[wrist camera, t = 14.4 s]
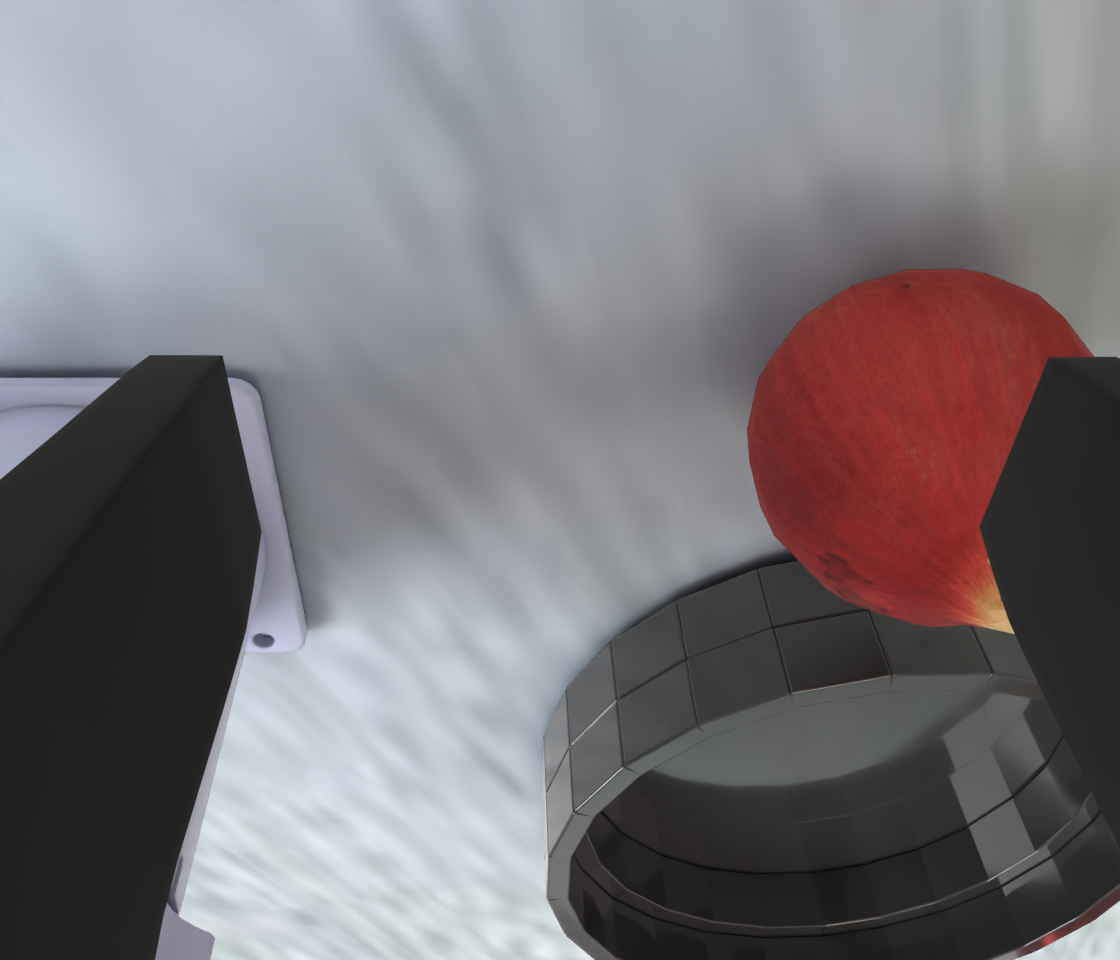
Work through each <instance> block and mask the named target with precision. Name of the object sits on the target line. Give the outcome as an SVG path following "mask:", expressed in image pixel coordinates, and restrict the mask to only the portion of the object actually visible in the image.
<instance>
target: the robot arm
mask: <svg viewBox="0 0 1120 960" xmlns="http://www.w3.org/2000/svg"><path fill="white" fill-rule="evenodd" d="M979 527H980V531H981V534H982V537H983V541H984V544H985V548H986V551H987V555H988V558H989V561H990V565H991V568H992V572H993V575H994V579H995V582H996V584H997V587H998V590H999V593H1000V596H1001V599H1002V602H1003V605H1004V608H1005V611H1006V614H1007V617H1008V620H1009V623H1010V625H1011V627H1012V629H1013V631H1014V633H1015V636H1016V638H1017V640H1018V642H1019V644H1020V647H1021V649H1022V651H1023V653H1024V655H1025V657H1026V659H1027V661H1028V663H1029V665H1030V667H1031V669H1032V672H1033V674H1034V676H1035V678H1036V680H1037V682H1038V684H1039V686H1040V688H1041V690H1042V692H1043V694H1044V697H1045V699H1046V701H1047V703H1048V705H1049V707H1050V709H1051V711H1052V713H1053V715H1054V717H1055V719H1056V721H1057V723H1058V725H1059V727H1060V729H1061V731H1062V733H1063V735H1064V737H1065V739H1066V741H1067V743H1068V745H1069V747H1070V749H1071V751H1072V753H1073V755H1074V757H1075V759H1076V761H1077V763H1078V765H1079V767H1080V769H1081V771H1082V774H1083V776H1084V778H1085V780H1086V782H1087V784H1088V786H1089V788H1090V790H1091V792H1092V794H1093V796H1094V798H1095V800H1096V802H1097V804H1098V806H1099V808H1100V810H1101V812H1102V814H1103V816H1104V818H1105V820H1106V822H1107V824H1108V826H1109V828H1110V830H1111V832H1112V834H1113V836H1114V838H1115V841H1116V843H1117V845H1118V847H1119V850H1120V359H1119V358H1117V357H1049V358H1048V360H1047V363H1046V365H1045V368H1044V370H1043V373H1042V375H1041V377H1040V380H1039V382H1038V385H1037V387H1036V390H1035V392H1034V395H1033V397H1032V399H1031V402H1030V404H1029V407H1028V409H1027V412H1026V414H1025V416H1024V419H1023V421H1022V424H1021V426H1020V429H1019V431H1018V434H1017V436H1016V438H1015V441H1014V443H1013V446H1012V448H1011V451H1010V453H1009V456H1008V458H1007V460H1006V463H1005V465H1004V468H1003V470H1002V473H1001V475H1000V478H999V480H998V482H997V485H996V487H995V490H994V492H993V495H992V497H991V500H990V502H989V504H988V507H987V509H986V512H985V514H984V517H983V519H982V521H981V524H980V526H979ZM261 633H263V634H268V635H263V634H261ZM306 636H307V625H306V620H305V615H304V610H303V605H302V600H301V595H300V591H299V586H298V581H297V576H296V571H295V566H294V561H293V556H292V551H291V546H290V541H289V536H288V531H287V526H286V521H285V516H284V511H283V506H282V501H281V496H280V491H279V486H278V481H277V477H276V472H275V467H274V462H273V457H272V452H271V447H270V442H269V437H268V432H267V427H266V422H265V417H264V412H263V407H262V402H261V398H260V395H259V393H258V391H257V390H256V389H255V388H254V387H253V386H252V385H251V384H250V383H248V382H246V381H244V380H242V379H237V378H227V374H226V369H225V365H224V360H223V356H203V355H150V356H148V357H147V358H146V359H144V360H143V361H142V362H140V363H139V364H138V365H136V366H135V367H134V368H132V369H131V370H130V371H129V372H127V373H126V374H125V375H124V376H122V377H121V378H0V960H210V958H211V954H212V949H213V945H214V940H215V938H214V936H213V935H212V934H211V933H209V932H207V931H204V930H202V929H200V928H197V927H195V926H193V925H192V924H190V923H188V922H187V921H185V920H183V919H182V918H181V917H179V914H180V910H181V906H182V902H183V898H184V894H185V890H186V886H187V882H188V878H189V874H190V870H191V866H192V862H193V858H194V854H195V850H196V846H197V842H198V838H199V834H200V830H201V826H202V822H203V818H204V814H205V810H206V806H207V802H208V798H209V794H210V790H211V786H212V782H213V778H214V774H215V770H216V766H217V762H218V758H219V754H220V750H221V746H222V742H223V738H224V734H225V730H226V726H227V722H228V718H229V714H230V710H231V706H232V702H233V698H234V694H235V690H236V686H237V682H238V678H239V674H240V670H241V666H242V662H243V658H244V654H245V653H276V652H293V651H296V650H298V649H300V648H302V647H303V645H304V644H305V641H306Z"/></svg>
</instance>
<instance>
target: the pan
mask: <svg viewBox="0 0 1120 960" xmlns="http://www.w3.org/2000/svg"><path fill="white" fill-rule="evenodd" d="M542 784H543V814H544V844H545V874H546V897H547V900H548V902H549V904H550V906H551V908H552V910H553V912H554V914H555V916H556V918H557V920H558V922H559V924H560V926H561V928H562V929H563V931H564V933H565V934H566V936H567V937H568V938H569V939H570V940H572V941H573V942H574V943H575V944H576V945H578V946H579V947H580V948H581V949H582V950H584V951H585V952H586V953H587V954H588V955H590V956H591V957H592V958H593V959H594V960H1014V959H1016V958H1019V957H1022V956H1024V955H1027V954H1030V953H1032V952H1035V951H1037V950H1039V949H1041V948H1043V947H1045V946H1047V945H1049V944H1051V943H1053V942H1054V941H1056V940H1058V939H1060V938H1062V937H1064V936H1066V935H1068V934H1070V933H1071V932H1073V931H1075V930H1077V929H1079V928H1081V927H1083V926H1085V925H1087V924H1088V923H1090V922H1092V921H1093V920H1095V919H1097V918H1098V917H1099V916H1101V915H1102V914H1103V913H1104V912H1106V911H1107V910H1108V909H1110V908H1111V907H1112V906H1114V905H1115V904H1116V903H1117V902H1119V901H1120V850H1119V847H1118V845H1117V843H1116V841H1115V838H1114V836H1113V834H1112V832H1111V830H1110V828H1109V826H1108V824H1107V822H1106V820H1105V818H1104V816H1103V814H1102V812H1101V810H1100V808H1099V806H1098V804H1097V802H1096V800H1095V798H1094V796H1093V794H1092V792H1091V790H1090V788H1089V786H1088V784H1087V782H1086V780H1085V778H1084V776H1083V774H1082V771H1081V769H1080V767H1079V765H1078V763H1077V761H1076V759H1075V757H1074V755H1073V753H1072V751H1071V749H1070V747H1069V745H1068V743H1067V741H1066V739H1065V737H1064V735H1063V733H1062V731H1061V729H1060V727H1059V725H1058V723H1057V721H1056V719H1055V717H1054V715H1053V713H1052V711H1051V709H1050V707H1049V705H1048V703H1047V701H1046V699H1045V697H1044V694H1043V692H1042V690H1041V688H1040V686H1039V684H1038V682H1037V680H1036V678H1035V676H1034V674H1033V672H1032V669H1031V667H1030V665H1029V663H1028V661H1027V659H1026V657H1025V655H1024V653H1023V651H1022V649H1021V647H1020V644H1019V642H1018V640H1017V638H1016V636H1015V634H1012V633H1008V632H1003V631H999V630H994V629H990V628H985V627H975V626H970V625H958V626H949V627H929V626H923V625H916V624H911V623H908V622H905V621H902V620H899V619H896V618H893V617H890V616H887V615H883V614H880V613H877V612H874V611H871V610H868V609H865V608H862V607H860V606H857V605H854V604H852V603H849V602H846V601H845V600H843V599H842V598H840V597H838V596H837V595H835V594H834V593H832V592H830V591H829V590H827V589H826V588H825V587H824V586H823V585H822V584H821V583H820V582H819V581H818V580H817V579H816V578H815V577H814V576H813V575H812V574H811V573H810V572H809V571H808V570H807V569H806V568H805V567H804V565H803V564H802V563H801V562H800V561H799V560H798V561H792V562H787V563H782V564H777V565H772V566H767V567H761V568H758V570H752V571H750V572H747V573H745V574H742V575H739V576H737V577H734V578H732V579H729V580H726V581H724V582H721V583H719V584H716V585H714V586H711V587H708V588H706V589H703V590H701V591H698V592H695V593H693V594H690V595H688V596H685V597H682V598H680V599H678V600H677V601H674V602H672V603H670V604H669V605H667V606H666V607H664V608H663V609H661V610H659V611H658V612H656V613H655V614H653V615H652V616H650V617H648V618H647V619H645V620H644V621H642V622H641V623H639V624H637V625H636V626H634V627H633V628H631V629H630V630H628V631H626V632H625V633H623V634H622V635H620V636H618V637H617V638H615V639H614V640H612V642H610V643H609V644H608V645H607V646H606V647H605V648H604V649H603V650H602V651H601V652H600V653H599V654H598V655H597V656H596V657H595V658H594V659H593V660H592V661H591V663H590V664H589V665H588V666H587V667H586V668H585V669H584V670H583V671H582V672H581V673H580V674H579V675H578V676H577V677H576V678H575V679H574V680H573V681H572V682H571V683H570V684H569V686H568V687H567V689H566V690H565V692H564V694H563V696H562V698H561V700H560V702H559V705H558V707H557V709H556V711H555V713H554V715H553V717H552V719H551V721H550V723H549V726H548V728H547V730H546V732H545V734H544V738H543V772H542Z"/></svg>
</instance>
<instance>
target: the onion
mask: <svg viewBox="0 0 1120 960" xmlns="http://www.w3.org/2000/svg"><path fill="white" fill-rule="evenodd" d="M1049 357H1094V356H1093V355H1092V353H1091V352H1090V351H1089V349H1088V348H1087V347H1086V345H1085V344H1084V343H1083V342H1082V340H1081V339H1080V338H1079V336H1078V335H1077V334H1076V332H1075V331H1074V330H1073V328H1072V327H1071V326H1070V324H1069V323H1068V322H1067V320H1066V319H1065V318H1064V317H1063V316H1062V315H1061V314H1060V313H1059V312H1057V311H1056V310H1055V309H1054V308H1053V307H1052V306H1051V305H1050V304H1048V303H1047V302H1046V301H1045V300H1044V299H1043V298H1042V297H1040V296H1039V295H1038V294H1036V293H1034V292H1031V291H1029V290H1026V289H1024V288H1021V287H1019V286H1016V285H1014V284H1011V283H1009V282H1006V281H1004V280H1001V279H999V278H996V277H994V276H991V275H989V274H986V273H981V272H976V271H970V270H965V269H911V270H904V271H900V272H897V273H894V274H890V275H887V276H883V277H880V278H877V279H873V280H870V281H866V282H863V283H860V284H856V285H853V286H851V287H849V288H847V289H846V290H844V291H843V292H841V293H840V294H838V295H836V296H835V297H833V298H832V299H830V300H828V301H827V302H825V303H824V304H822V305H820V306H819V307H817V308H816V309H814V310H813V311H811V312H809V313H808V314H806V315H805V316H804V317H803V318H802V319H801V320H800V321H799V323H798V324H797V325H796V326H795V327H794V328H793V330H792V331H791V333H790V334H789V335H788V337H787V338H786V339H785V340H784V342H783V343H782V344H781V345H780V347H779V348H778V349H777V350H776V352H775V353H774V354H773V355H772V357H771V359H770V360H769V362H768V364H767V365H766V367H765V369H764V370H763V372H762V374H761V375H760V377H759V379H758V382H757V387H756V391H755V396H754V400H753V405H752V409H751V414H750V418H749V423H748V427H747V434H748V447H749V461H750V466H751V470H752V474H753V478H754V482H755V487H756V491H757V495H758V499H759V503H760V507H761V509H762V511H763V513H764V515H765V517H766V519H767V521H768V523H769V525H770V527H771V530H772V532H773V534H774V536H775V537H776V538H777V539H778V540H779V541H780V542H781V543H782V544H783V545H784V546H785V547H786V548H787V549H788V550H789V551H790V552H791V553H792V554H793V555H794V556H795V557H796V558H797V559H798V560H799V561H800V562H801V563H802V564H803V565H804V567H805V568H806V569H807V570H808V571H809V572H810V573H811V574H812V575H813V576H814V577H815V578H816V579H817V580H818V581H819V582H820V583H821V584H822V585H823V586H824V587H825V588H826V589H827V590H829V591H830V592H832V593H834V594H835V595H837V596H838V597H840V598H842V599H843V600H845V601H846V602H849V603H852V604H854V605H857V606H860V607H862V608H865V609H868V610H871V611H874V612H877V613H880V614H883V615H887V616H890V617H893V618H896V619H899V620H902V621H905V622H908V623H911V624H916V625H923V626H929V627H949V626H958V625H970V626H975V627H985V628H990V629H994V630H999V631H1003V632H1008V633H1012V634H1015V633H1014V631H1013V629H1012V627H1011V625H1010V623H1009V620H1008V617H1007V614H1006V611H1005V608H1004V605H1003V602H1002V599H1001V596H1000V593H999V590H998V587H997V584H996V582H995V579H994V575H993V572H992V568H991V565H990V561H989V558H988V555H987V551H986V548H985V544H984V541H983V537H982V534H981V531H980V527H979V526H980V524H981V521H982V519H983V517H984V514H985V512H986V509H987V507H988V504H989V502H990V500H991V497H992V495H993V492H994V490H995V487H996V485H997V482H998V480H999V478H1000V475H1001V473H1002V470H1003V468H1004V465H1005V463H1006V460H1007V458H1008V456H1009V453H1010V451H1011V448H1012V446H1013V443H1014V441H1015V438H1016V436H1017V434H1018V431H1019V429H1020V426H1021V424H1022V421H1023V419H1024V416H1025V414H1026V412H1027V409H1028V407H1029V404H1030V402H1031V399H1032V397H1033V395H1034V392H1035V390H1036V387H1037V385H1038V382H1039V380H1040V377H1041V375H1042V373H1043V370H1044V368H1045V365H1046V363H1047V360H1048V358H1049Z"/></svg>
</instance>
